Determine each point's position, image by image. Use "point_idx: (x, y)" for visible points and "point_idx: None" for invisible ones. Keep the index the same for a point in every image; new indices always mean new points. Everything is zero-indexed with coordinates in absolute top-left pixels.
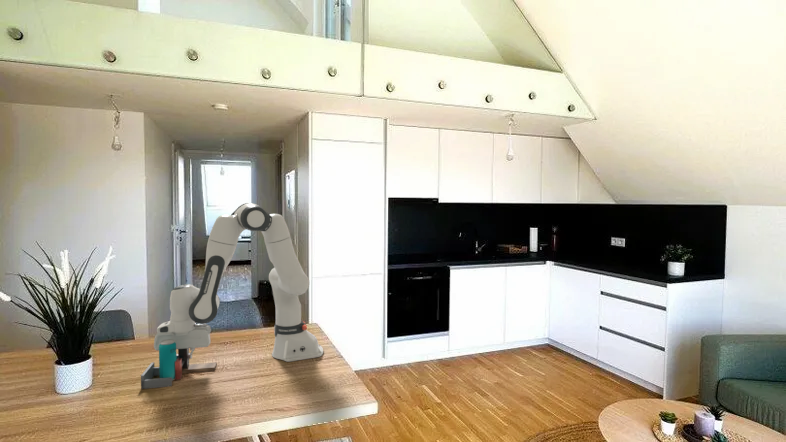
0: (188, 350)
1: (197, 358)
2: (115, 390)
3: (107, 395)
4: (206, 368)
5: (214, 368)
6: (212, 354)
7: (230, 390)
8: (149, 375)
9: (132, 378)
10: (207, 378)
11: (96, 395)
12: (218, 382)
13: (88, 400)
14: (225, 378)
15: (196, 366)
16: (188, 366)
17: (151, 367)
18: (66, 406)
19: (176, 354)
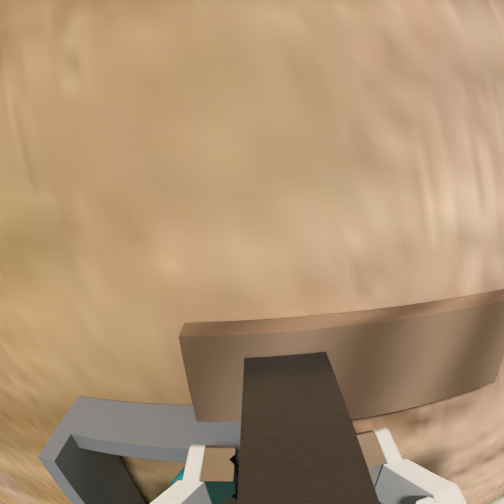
0: (367, 491)
1: (338, 85)
2: (47, 480)
3: (54, 498)
4: (453, 393)
5: (490, 378)
6: (440, 30)
7: (479, 496)
8: (114, 492)
9: (16, 403)
10: (436, 456)
11: (23, 483)
12: (466, 472)
13: (31, 499)
14: (497, 441)
15: (391, 373)
16: None
17: (88, 496)
18: (13, 499)
19: (207, 492)
